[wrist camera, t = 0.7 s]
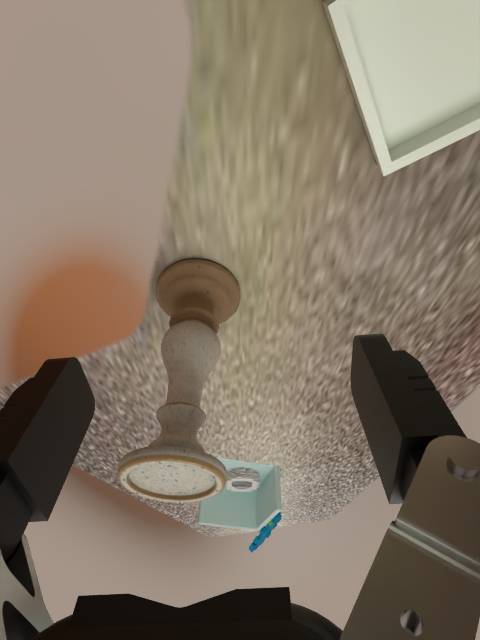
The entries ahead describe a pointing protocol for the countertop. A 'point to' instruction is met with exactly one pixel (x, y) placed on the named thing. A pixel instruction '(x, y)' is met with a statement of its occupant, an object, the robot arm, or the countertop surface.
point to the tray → (410, 72)
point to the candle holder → (185, 386)
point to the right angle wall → (244, 497)
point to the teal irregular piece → (265, 532)
